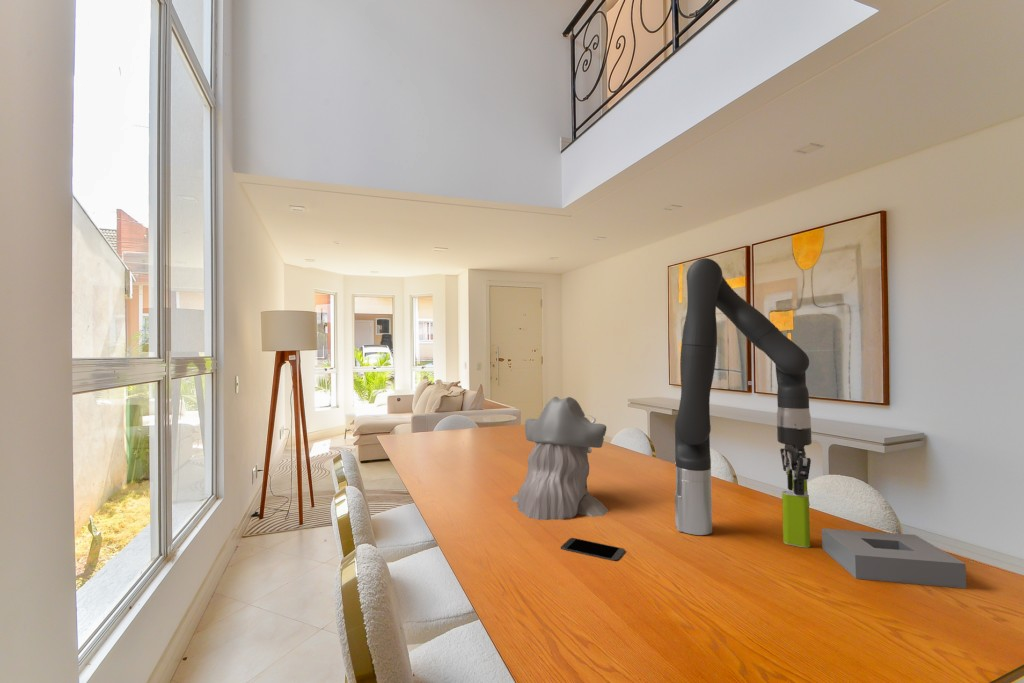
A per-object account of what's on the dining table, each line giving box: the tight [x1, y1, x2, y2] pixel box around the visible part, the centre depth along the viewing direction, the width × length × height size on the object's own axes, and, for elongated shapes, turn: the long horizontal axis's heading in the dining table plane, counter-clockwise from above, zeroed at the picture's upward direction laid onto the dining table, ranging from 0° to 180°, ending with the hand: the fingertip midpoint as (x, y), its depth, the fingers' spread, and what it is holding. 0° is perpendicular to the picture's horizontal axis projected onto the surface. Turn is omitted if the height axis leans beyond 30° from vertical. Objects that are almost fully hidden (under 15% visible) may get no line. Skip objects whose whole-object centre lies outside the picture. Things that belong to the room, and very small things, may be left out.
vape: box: [781, 466, 811, 549], centre depth 117 cm, size 4×6×20 cm, turn 59°
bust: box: [510, 396, 610, 521], centre depth 150 cm, size 34×34×35 cm
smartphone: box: [560, 537, 626, 562], centre depth 113 cm, size 7×15×1 cm, turn 60°
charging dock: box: [821, 528, 967, 589], centre depth 103 cm, size 20×16×5 cm
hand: (795, 492), depth 117 cm, fingers closed on vape, 3 cm apart
